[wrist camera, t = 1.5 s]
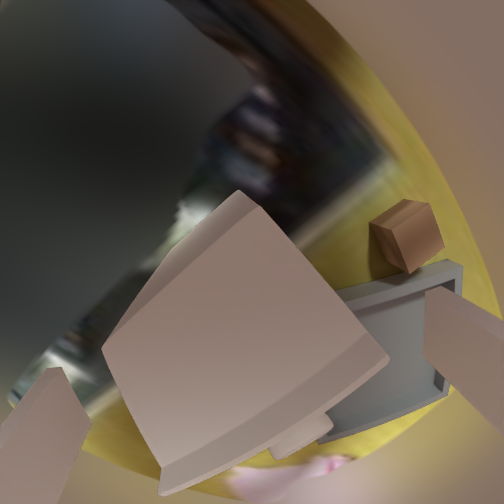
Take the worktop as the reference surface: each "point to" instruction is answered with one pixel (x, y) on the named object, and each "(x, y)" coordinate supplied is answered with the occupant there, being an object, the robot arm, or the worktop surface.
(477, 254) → the worktop surface
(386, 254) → the walnut block
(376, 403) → the tray
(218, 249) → the milk carton
